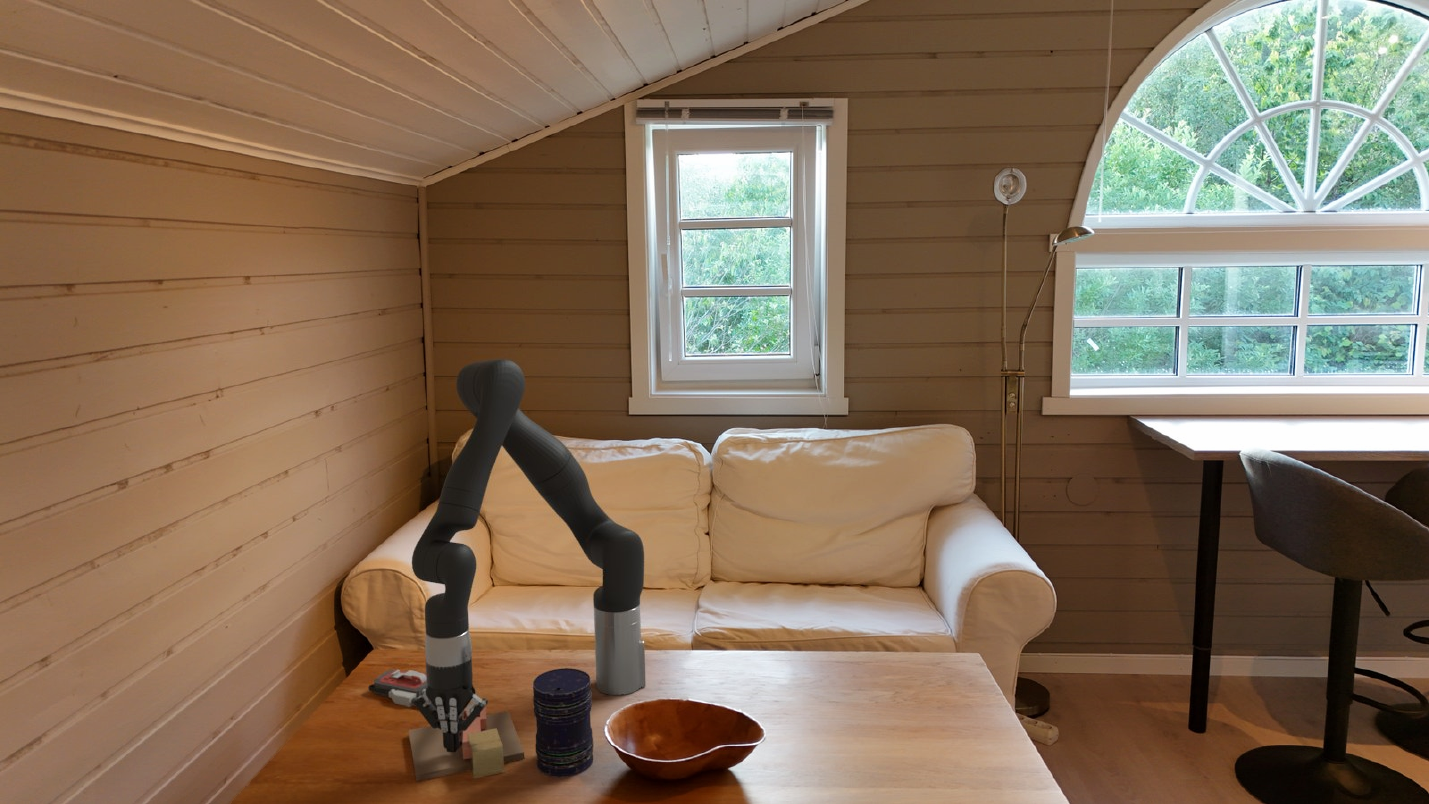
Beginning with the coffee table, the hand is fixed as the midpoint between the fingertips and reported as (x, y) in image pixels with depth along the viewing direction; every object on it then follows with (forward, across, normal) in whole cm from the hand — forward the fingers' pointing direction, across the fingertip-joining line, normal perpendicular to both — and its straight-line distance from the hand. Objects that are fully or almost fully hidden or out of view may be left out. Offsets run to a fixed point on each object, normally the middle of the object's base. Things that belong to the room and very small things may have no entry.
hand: (453, 749), depth 164 cm
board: (+2, 0, +5) cm, 6 cm away
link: (+1, +1, +6) cm, 6 cm away
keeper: (+2, +6, 0) cm, 6 cm away
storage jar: (+2, +19, +2) cm, 19 cm away
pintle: (+2, -1, +10) cm, 11 cm away
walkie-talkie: (+3, -18, +22) cm, 29 cm away
